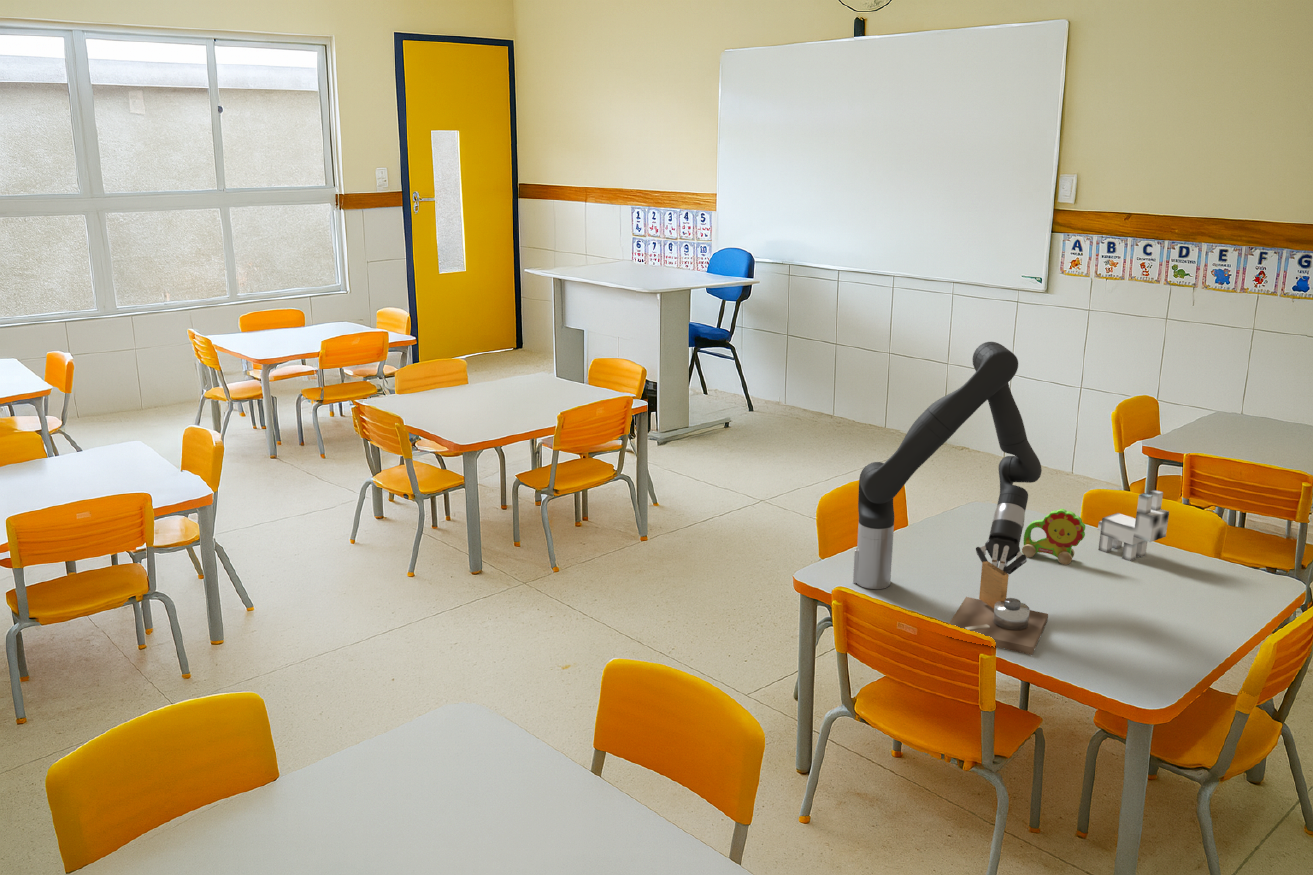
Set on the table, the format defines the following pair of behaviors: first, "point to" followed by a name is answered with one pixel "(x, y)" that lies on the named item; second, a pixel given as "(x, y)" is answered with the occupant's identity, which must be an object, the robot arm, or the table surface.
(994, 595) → the lock handle
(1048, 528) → the toy lion
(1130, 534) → the toy llama
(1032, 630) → the base
